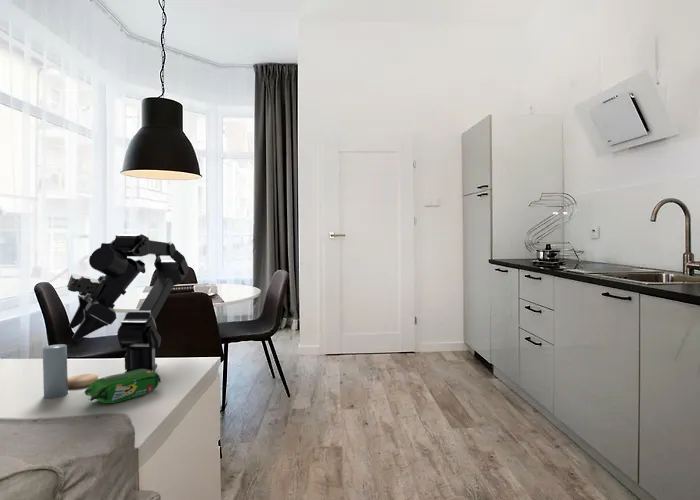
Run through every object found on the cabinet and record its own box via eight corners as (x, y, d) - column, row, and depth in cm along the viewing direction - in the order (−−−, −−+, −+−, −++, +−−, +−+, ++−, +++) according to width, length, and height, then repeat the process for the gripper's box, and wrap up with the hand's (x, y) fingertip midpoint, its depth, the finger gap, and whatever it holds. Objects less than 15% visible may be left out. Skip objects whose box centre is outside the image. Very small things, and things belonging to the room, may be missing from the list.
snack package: (79, 404, 92) (78, 380, 91) (151, 384, 104) (150, 362, 103) (92, 413, 87) (91, 388, 87) (166, 391, 99) (165, 368, 99)
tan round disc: (102, 377, 108) (102, 373, 108) (91, 387, 101) (91, 382, 101) (72, 379, 107) (71, 374, 107) (58, 389, 100) (58, 384, 100)
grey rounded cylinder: (71, 390, 99) (70, 343, 99) (62, 397, 95) (61, 348, 94) (50, 391, 98) (48, 344, 98) (39, 399, 94) (38, 350, 94)
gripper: (83, 255, 108) (37, 305, 104) (92, 269, 94) (39, 329, 90) (121, 278, 115) (80, 327, 111) (135, 295, 100) (88, 352, 96)
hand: (72, 333), depth 102 cm, fingers open, 9 cm apart
